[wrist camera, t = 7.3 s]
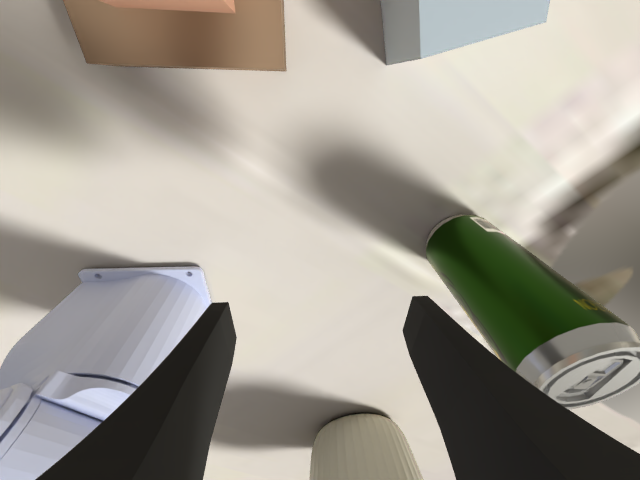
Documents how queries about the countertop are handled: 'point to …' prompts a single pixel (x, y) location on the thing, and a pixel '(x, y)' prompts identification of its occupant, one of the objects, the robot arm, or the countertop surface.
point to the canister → (362, 451)
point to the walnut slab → (182, 36)
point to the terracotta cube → (177, 5)
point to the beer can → (534, 314)
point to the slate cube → (451, 24)
